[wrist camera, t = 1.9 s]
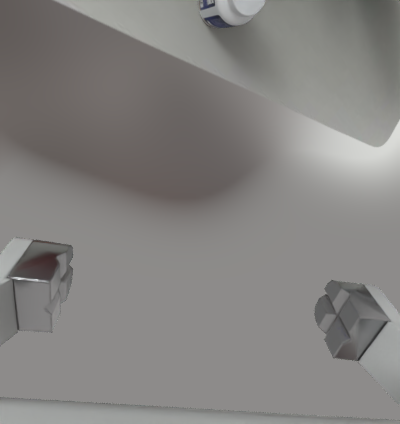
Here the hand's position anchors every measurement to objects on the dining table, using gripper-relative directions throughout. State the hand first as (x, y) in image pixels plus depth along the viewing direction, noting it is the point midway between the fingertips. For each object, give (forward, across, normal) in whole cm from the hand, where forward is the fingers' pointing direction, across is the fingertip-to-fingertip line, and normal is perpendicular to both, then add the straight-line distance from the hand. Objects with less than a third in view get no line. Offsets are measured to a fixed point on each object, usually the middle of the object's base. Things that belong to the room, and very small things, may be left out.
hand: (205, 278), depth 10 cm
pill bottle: (+41, -2, -10) cm, 42 cm away
